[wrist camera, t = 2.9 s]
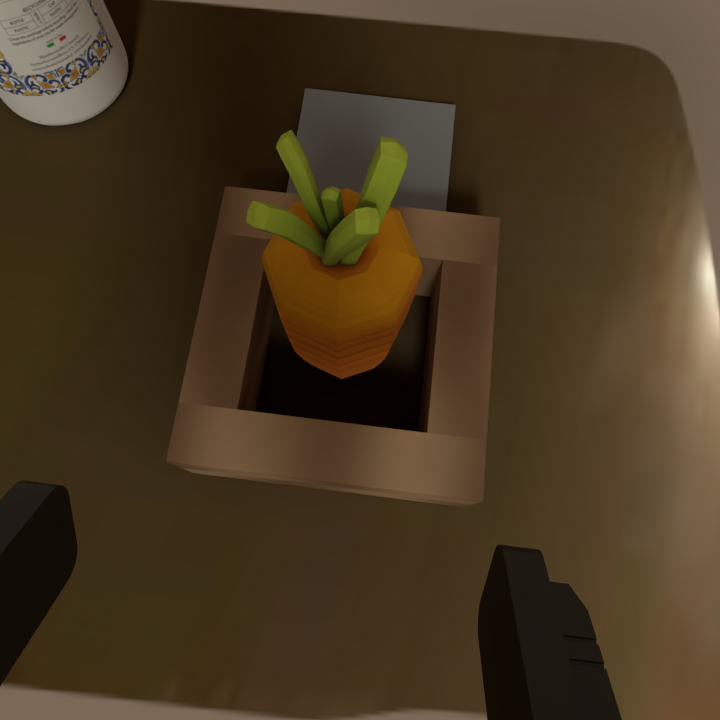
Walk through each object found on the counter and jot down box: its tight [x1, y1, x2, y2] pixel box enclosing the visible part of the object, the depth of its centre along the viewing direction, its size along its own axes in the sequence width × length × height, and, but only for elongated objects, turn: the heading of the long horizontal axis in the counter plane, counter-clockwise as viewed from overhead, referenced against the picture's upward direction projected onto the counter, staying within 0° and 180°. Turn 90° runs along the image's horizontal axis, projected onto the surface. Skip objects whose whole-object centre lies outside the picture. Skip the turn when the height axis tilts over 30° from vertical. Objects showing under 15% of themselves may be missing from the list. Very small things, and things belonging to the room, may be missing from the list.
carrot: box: [246, 130, 423, 379], centre depth 21 cm, size 5×5×15 cm
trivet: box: [286, 88, 456, 212], centre depth 31 cm, size 8×8×1 cm
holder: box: [166, 186, 500, 507], centre depth 26 cm, size 12×12×4 cm
